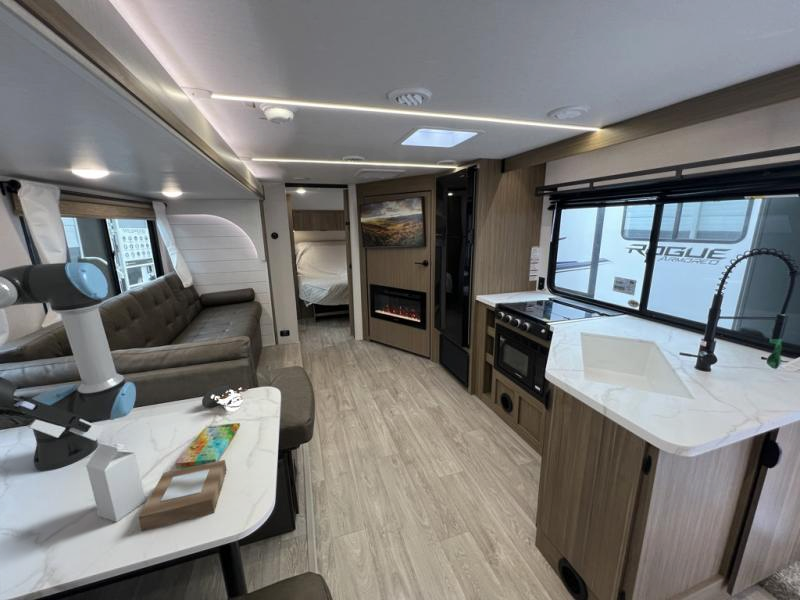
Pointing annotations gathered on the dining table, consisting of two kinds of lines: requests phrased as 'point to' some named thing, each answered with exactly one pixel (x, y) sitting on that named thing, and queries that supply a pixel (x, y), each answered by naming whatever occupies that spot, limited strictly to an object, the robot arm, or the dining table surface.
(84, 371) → the robot arm
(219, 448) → the puzzle game
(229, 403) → the figurine
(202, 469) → the walnut riser
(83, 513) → the dining table surface
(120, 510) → the milk carton
